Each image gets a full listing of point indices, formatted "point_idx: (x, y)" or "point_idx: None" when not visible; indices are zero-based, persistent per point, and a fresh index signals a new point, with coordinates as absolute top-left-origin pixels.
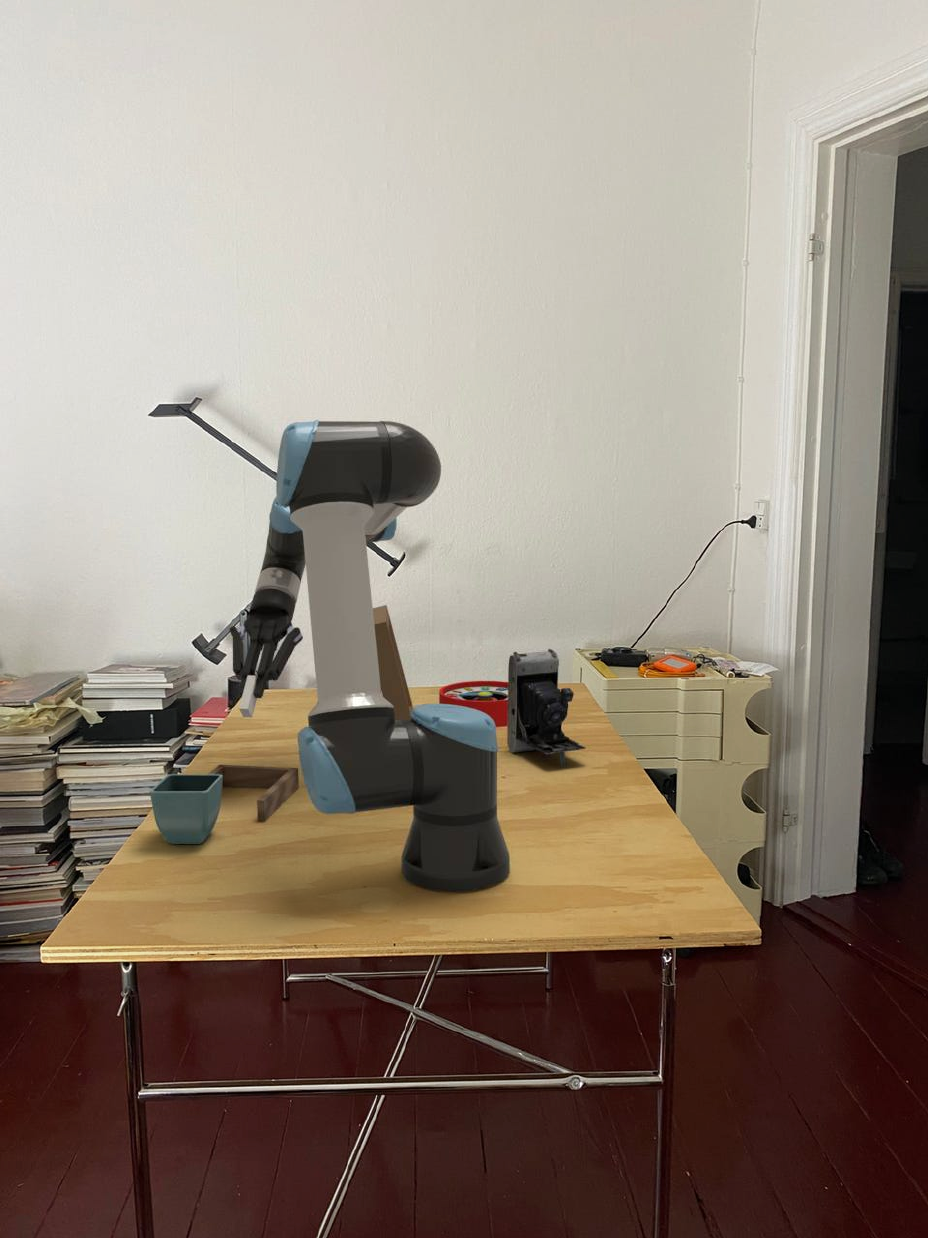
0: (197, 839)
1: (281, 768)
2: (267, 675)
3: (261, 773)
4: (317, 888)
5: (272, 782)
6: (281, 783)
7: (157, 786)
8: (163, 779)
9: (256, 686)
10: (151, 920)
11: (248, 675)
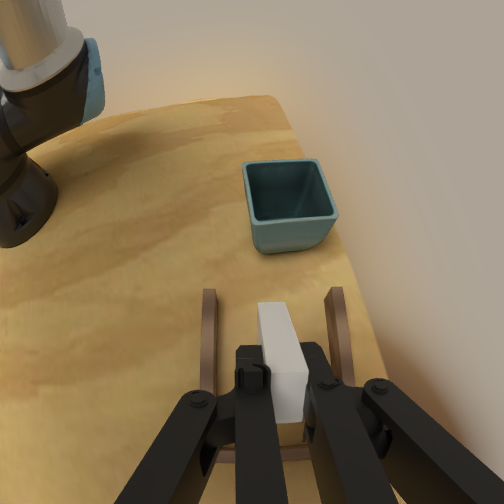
0: (260, 213)
1: (232, 457)
2: (220, 396)
3: None
4: (120, 164)
5: None
6: (201, 373)
7: (320, 174)
8: (330, 196)
9: (257, 361)
10: (231, 115)
11: (304, 370)
